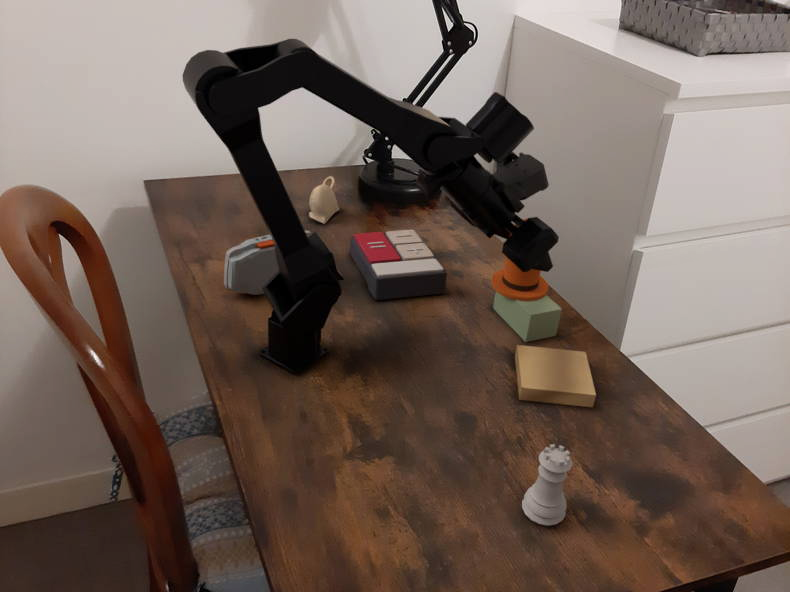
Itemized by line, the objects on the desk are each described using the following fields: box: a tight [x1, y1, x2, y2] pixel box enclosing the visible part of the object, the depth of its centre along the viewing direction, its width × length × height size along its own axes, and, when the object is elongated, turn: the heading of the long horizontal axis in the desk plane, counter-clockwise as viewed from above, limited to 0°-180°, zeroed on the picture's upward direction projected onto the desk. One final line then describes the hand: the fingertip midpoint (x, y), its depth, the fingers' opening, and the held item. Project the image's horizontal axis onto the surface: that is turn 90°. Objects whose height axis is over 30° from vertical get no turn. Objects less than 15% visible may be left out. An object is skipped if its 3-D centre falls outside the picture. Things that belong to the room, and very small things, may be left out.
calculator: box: [349, 229, 448, 301], centre depth 116 cm, size 11×4×15 cm
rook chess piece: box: [521, 443, 573, 527], centre depth 75 cm, size 4×4×8 cm
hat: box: [490, 218, 549, 301], centre depth 104 cm, size 8×8×10 cm
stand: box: [514, 344, 597, 408], centre depth 95 cm, size 9×9×2 cm
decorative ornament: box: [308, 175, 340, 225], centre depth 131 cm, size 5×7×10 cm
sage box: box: [492, 291, 563, 343], centre depth 106 cm, size 5×9×4 cm, turn 24°
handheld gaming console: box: [223, 229, 313, 296], centre depth 108 cm, size 14×3×8 cm, turn 124°
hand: (531, 252), depth 105 cm, fingers open, 9 cm apart
